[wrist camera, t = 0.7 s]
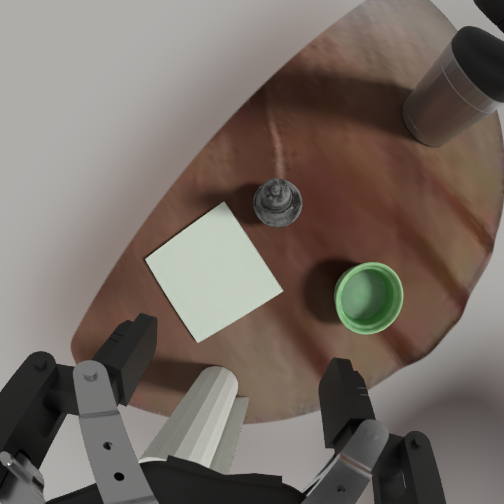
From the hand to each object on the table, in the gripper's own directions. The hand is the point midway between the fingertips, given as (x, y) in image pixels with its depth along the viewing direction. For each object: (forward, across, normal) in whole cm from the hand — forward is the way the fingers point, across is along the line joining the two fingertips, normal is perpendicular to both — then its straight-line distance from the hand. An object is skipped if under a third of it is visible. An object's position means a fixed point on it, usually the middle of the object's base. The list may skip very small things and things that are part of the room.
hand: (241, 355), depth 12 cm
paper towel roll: (+19, 0, +24) cm, 31 cm away
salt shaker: (+27, -2, -2) cm, 27 cm away
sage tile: (+25, +5, +9) cm, 27 cm away
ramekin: (+23, -15, +6) cm, 29 cm away
